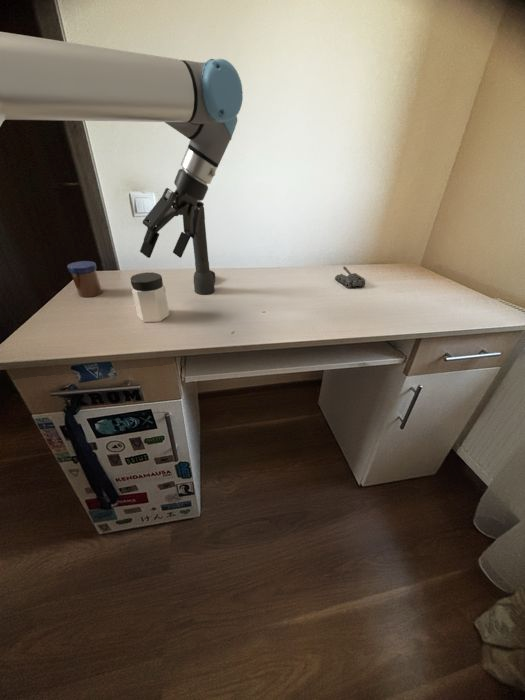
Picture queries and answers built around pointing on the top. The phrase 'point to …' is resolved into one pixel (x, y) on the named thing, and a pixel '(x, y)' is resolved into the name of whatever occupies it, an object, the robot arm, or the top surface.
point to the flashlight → (202, 261)
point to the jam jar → (87, 284)
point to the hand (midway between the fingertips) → (162, 254)
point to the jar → (149, 297)
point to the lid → (82, 267)
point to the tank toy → (350, 279)
